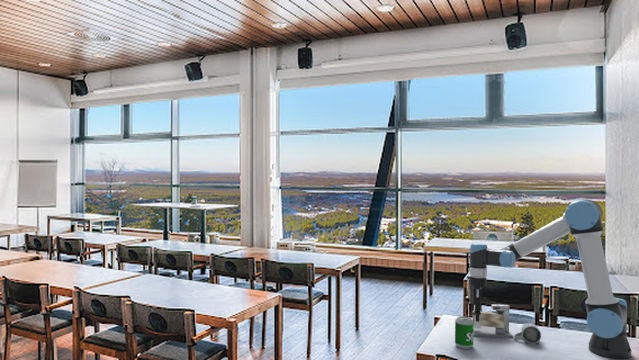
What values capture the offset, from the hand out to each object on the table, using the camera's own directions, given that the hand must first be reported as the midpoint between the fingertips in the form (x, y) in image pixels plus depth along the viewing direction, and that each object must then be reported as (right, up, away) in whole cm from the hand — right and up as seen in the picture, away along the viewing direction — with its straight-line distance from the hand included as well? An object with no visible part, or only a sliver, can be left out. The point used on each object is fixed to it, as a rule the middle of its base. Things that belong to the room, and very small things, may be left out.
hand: (477, 326), depth 208 cm
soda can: (-12, -3, -17) cm, 21 cm away
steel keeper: (+11, -3, +1) cm, 11 cm away
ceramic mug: (+19, -4, -9) cm, 21 cm away
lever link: (+5, +1, -1) cm, 5 cm away
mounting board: (+5, -3, +3) cm, 7 cm away
